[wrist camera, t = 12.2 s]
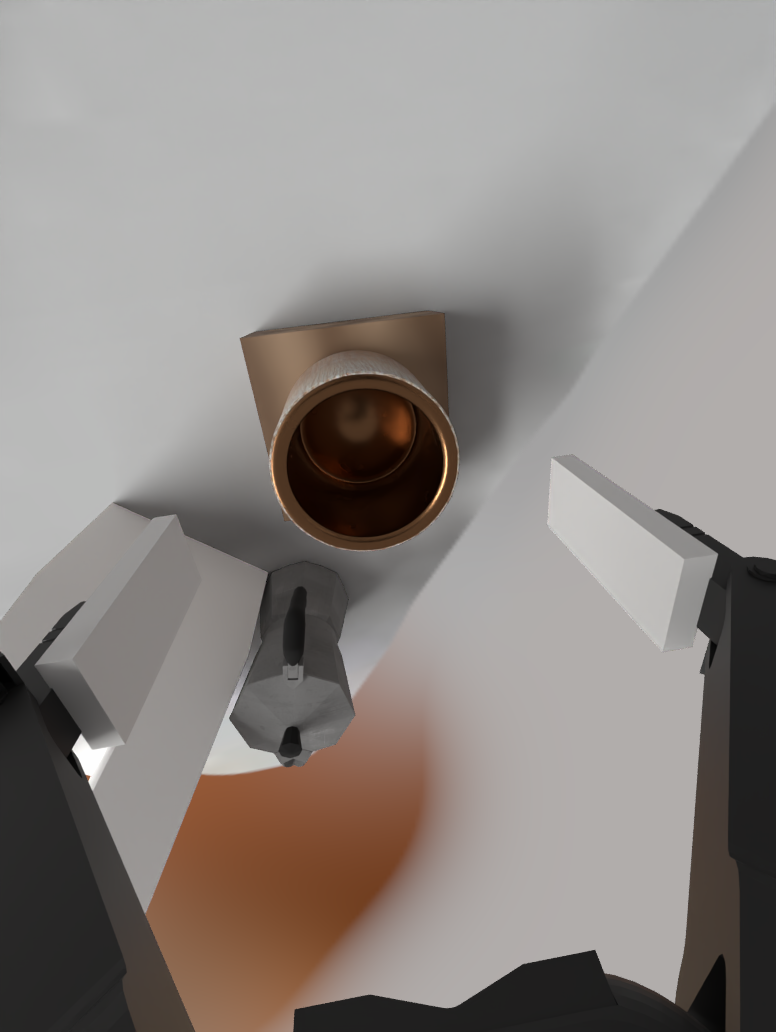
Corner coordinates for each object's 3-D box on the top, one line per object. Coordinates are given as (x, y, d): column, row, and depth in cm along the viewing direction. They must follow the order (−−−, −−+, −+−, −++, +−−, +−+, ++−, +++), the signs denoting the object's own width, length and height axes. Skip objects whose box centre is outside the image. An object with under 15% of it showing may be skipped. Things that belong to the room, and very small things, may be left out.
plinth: (427, 310, 35) (444, 313, 30) (437, 471, 42) (452, 496, 37) (254, 331, 35) (239, 338, 29) (290, 492, 41) (284, 521, 36)
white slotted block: (113, 502, 40) (-165, 762, 18) (268, 571, 45) (204, 841, 23) (48, 645, 46) (-218, 971, 24) (191, 692, 51) (82, 997, 29)
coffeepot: (345, 644, 50) (351, 806, 34) (261, 644, 49) (226, 813, 33) (354, 525, 43) (366, 658, 27) (256, 522, 42) (209, 660, 26)
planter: (265, 365, 30) (238, 392, 22) (418, 334, 31) (451, 349, 22) (305, 503, 35) (297, 570, 27) (437, 476, 36) (470, 533, 27)
